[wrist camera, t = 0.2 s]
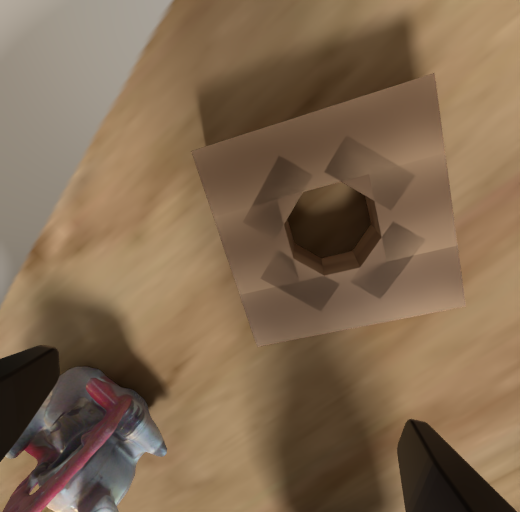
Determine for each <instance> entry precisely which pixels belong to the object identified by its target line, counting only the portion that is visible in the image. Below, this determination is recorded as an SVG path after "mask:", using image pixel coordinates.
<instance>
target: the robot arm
mask: <svg viewBox="0 0 520 512" xmlns="http://www.w3.org/2000/svg"><path fill="white" fill-rule="evenodd" d="M59 375H60V368H59V352H58V350H57V349H56V348H55V347H50V346H45V345H39V346H36V347H33V348H30V349H27V350H25V351H22V352H19V353H16V354H13V355H10V356H7V357H4V358H2V359H0V462H1V460H2V459H3V458H4V457H5V456H6V454H7V453H8V452H9V451H10V449H11V448H12V447H13V446H14V444H15V443H16V442H17V441H18V439H19V438H20V437H21V435H22V434H23V432H24V431H25V430H26V428H27V427H28V425H29V424H30V422H31V421H32V419H33V418H34V416H35V415H36V413H37V412H38V410H39V409H40V407H41V406H42V404H43V403H44V401H45V400H46V399H47V397H48V396H49V394H50V393H51V391H52V390H53V388H54V387H55V385H56V384H57V382H58V379H59ZM397 454H398V461H399V468H400V475H401V482H402V489H403V496H404V503H405V510H406V512H517V511H516V510H515V509H514V508H513V507H512V506H511V505H510V504H509V503H508V502H507V501H506V500H505V499H504V498H503V497H502V496H500V495H499V494H498V493H497V492H496V491H495V490H494V489H493V488H492V487H491V486H490V485H489V484H488V483H487V482H486V481H485V480H484V479H483V478H482V477H481V476H480V475H479V474H478V473H477V472H476V471H475V470H474V469H473V468H472V467H471V466H470V465H469V464H468V463H467V462H466V461H465V460H464V459H463V458H462V457H461V456H460V455H459V454H458V453H457V452H456V451H455V450H454V449H453V448H452V447H451V446H450V445H449V444H448V443H447V442H446V441H445V440H444V439H443V438H442V437H441V436H440V435H439V434H438V433H437V432H436V431H435V430H434V429H433V428H432V427H431V426H430V425H429V424H427V423H426V422H423V421H418V420H413V419H409V420H408V421H407V422H406V424H405V426H404V429H403V432H402V434H401V437H400V440H399V443H398V447H397Z"/></svg>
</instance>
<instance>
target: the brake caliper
mask: <svg viewBox="0 0 520 512" xmlns="http://www.w3.org/2000/svg"><path fill="white" fill-rule="evenodd" d="M23 450H25V451H26V452H28V453H29V454H30V455H32V456H33V457H35V458H36V459H37V461H38V464H37V466H36V468H35V469H34V470H33V471H32V472H31V474H30V475H29V476H28V477H27V478H26V479H25V480H23V481H22V483H21V484H20V485H19V486H18V487H17V488H16V490H15V491H14V492H13V494H12V495H11V497H10V499H9V501H8V503H7V504H6V506H5V508H4V510H3V512H41V511H42V510H43V509H44V508H45V507H46V506H47V507H48V508H50V509H51V510H53V511H55V512H118V509H117V505H118V504H119V502H120V501H121V499H122V498H123V497H124V496H125V494H126V493H127V491H128V490H129V488H130V485H131V483H132V480H133V478H134V476H135V468H136V464H137V461H138V460H139V458H140V457H141V456H142V455H143V454H144V453H145V452H149V453H151V454H154V455H156V456H161V457H162V456H165V454H166V453H167V448H166V446H165V443H164V440H163V438H162V435H161V433H160V431H159V429H158V427H157V426H156V424H155V423H154V421H153V420H152V418H151V416H150V413H149V410H148V405H147V403H146V402H145V400H144V399H143V398H142V397H141V396H140V395H139V394H137V393H136V392H135V391H134V390H132V389H128V388H122V387H119V386H118V385H117V384H116V383H115V382H113V381H112V380H111V379H109V378H108V377H106V376H105V375H104V373H103V372H102V371H100V370H99V369H94V368H90V367H87V366H84V367H74V368H71V369H69V370H67V371H66V372H64V373H63V374H62V375H60V376H59V379H58V382H57V384H56V385H55V387H54V388H53V390H52V391H51V393H50V394H49V396H48V397H47V399H46V400H45V401H44V403H43V404H42V406H41V407H40V409H39V410H38V412H37V413H36V415H35V416H34V418H33V419H32V421H31V422H30V424H29V425H28V427H27V428H26V430H25V431H24V432H23V434H22V435H21V437H20V438H19V439H18V441H17V442H16V443H15V444H14V446H13V447H12V448H11V449H10V451H9V452H8V453H7V454H6V457H7V458H11V459H12V458H16V457H17V456H18V455H19V454H20V453H21V452H22V451H23ZM37 484H39V487H40V488H39V489H38V490H37V491H36V492H35V493H34V494H32V495H29V493H30V492H31V491H32V489H33V488H34V487H35V486H36V485H37Z"/></svg>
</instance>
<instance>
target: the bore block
mask: <svg viewBox="0 0 520 512" xmlns="http://www.w3.org/2000/svg"><path fill="white" fill-rule="evenodd" d="M191 152H192V155H193V158H194V161H195V164H196V167H197V170H198V173H199V175H200V178H201V181H202V184H203V187H204V190H205V193H206V196H207V199H208V202H209V205H210V208H211V211H212V214H213V217H214V220H215V223H216V226H217V229H218V232H219V235H220V238H221V241H222V244H223V247H224V250H225V253H226V256H227V259H228V262H229V265H230V267H231V270H232V273H233V276H234V279H235V282H236V285H237V288H238V291H239V294H240V297H241V300H242V303H243V306H244V309H245V312H246V315H247V318H248V321H249V324H250V327H251V330H252V333H253V336H254V339H255V342H256V345H257V347H259V346H264V345H270V344H275V343H280V342H285V341H290V340H295V339H300V338H306V337H311V336H316V335H321V334H326V333H331V332H337V331H342V330H347V329H352V328H357V327H362V326H368V325H373V324H378V323H383V322H388V321H393V320H398V319H404V318H409V317H414V316H419V315H424V314H429V313H435V312H440V311H445V310H450V309H455V308H460V307H466V304H465V297H464V289H463V282H462V274H461V267H460V259H459V252H458V245H457V237H456V230H455V222H454V215H453V207H452V200H451V193H450V185H449V178H448V170H447V163H446V155H445V148H444V141H443V133H442V126H441V118H440V111H439V103H438V96H437V89H436V81H435V74H434V73H433V74H430V75H426V76H423V77H420V78H417V79H414V80H411V81H408V82H405V83H402V84H398V85H395V86H392V87H389V88H386V89H383V90H380V91H377V92H374V93H370V94H367V95H364V96H361V97H358V98H355V99H352V100H349V101H346V102H342V103H339V104H336V105H333V106H330V107H327V108H324V109H321V110H318V111H314V112H311V113H308V114H305V115H302V116H299V117H296V118H293V119H289V120H286V121H283V122H280V123H277V124H274V125H271V126H268V127H265V128H261V129H258V130H255V131H252V132H249V133H246V134H243V135H240V136H237V137H233V138H230V139H227V140H224V141H221V142H218V143H215V144H212V145H209V146H205V147H202V148H199V149H196V150H193V151H191ZM338 182H343V183H344V184H346V185H348V186H349V187H351V188H353V189H355V190H356V191H358V192H360V193H362V194H363V195H365V198H366V202H367V207H368V212H369V217H370V222H371V225H370V226H369V228H368V229H367V231H366V232H365V233H364V235H363V236H362V238H361V239H360V241H359V242H358V244H357V245H356V247H355V248H354V249H353V251H350V252H346V253H341V254H337V255H333V256H329V257H324V258H320V257H318V256H316V255H315V254H313V253H311V252H309V251H307V250H306V249H304V248H302V247H300V246H299V245H297V244H295V243H294V240H293V236H292V233H291V229H290V226H289V222H288V217H289V215H290V213H291V212H292V210H293V208H294V206H295V205H296V203H297V201H298V200H299V198H300V196H301V195H302V193H303V192H306V191H309V190H313V189H316V188H320V187H324V186H327V185H331V184H334V183H338Z"/></svg>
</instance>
